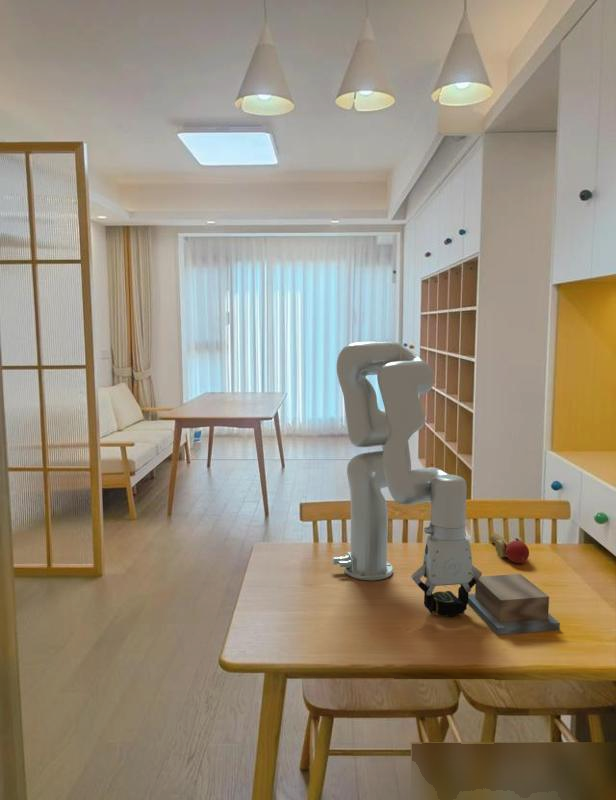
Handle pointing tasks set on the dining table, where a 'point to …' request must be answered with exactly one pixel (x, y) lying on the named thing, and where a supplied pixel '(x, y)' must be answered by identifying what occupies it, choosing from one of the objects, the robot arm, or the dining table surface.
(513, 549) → the kendama
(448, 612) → the tape measure
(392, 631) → the dining table surface
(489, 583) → the plinth
